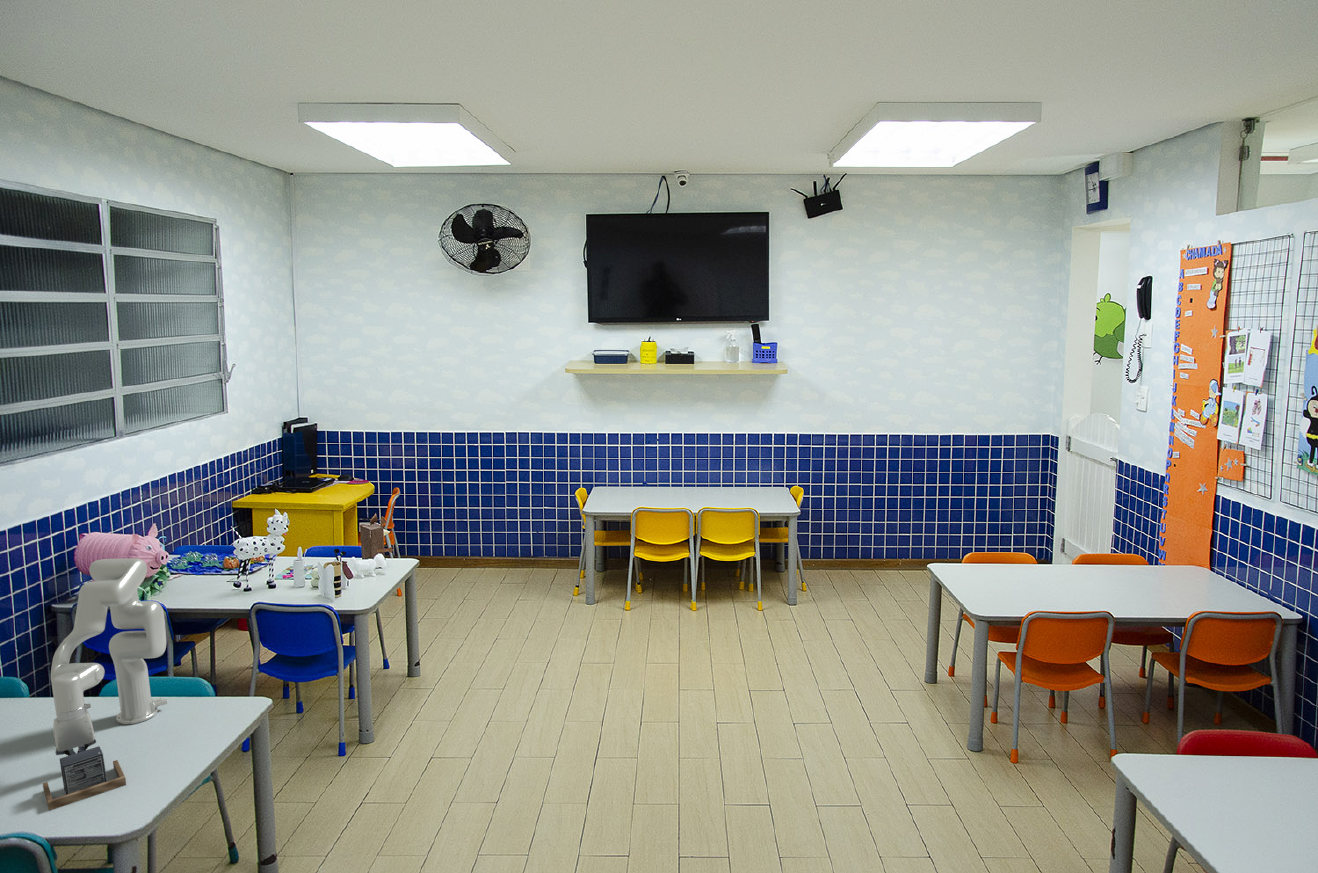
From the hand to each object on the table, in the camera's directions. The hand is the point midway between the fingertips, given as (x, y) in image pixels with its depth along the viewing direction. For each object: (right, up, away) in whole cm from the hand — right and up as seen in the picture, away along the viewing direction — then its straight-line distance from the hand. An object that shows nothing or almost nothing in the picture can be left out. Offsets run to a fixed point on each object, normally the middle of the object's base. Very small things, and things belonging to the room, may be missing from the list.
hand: (78, 765), depth 267 cm
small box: (+9, -3, -9) cm, 13 cm away
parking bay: (+9, -3, -10) cm, 13 cm away
